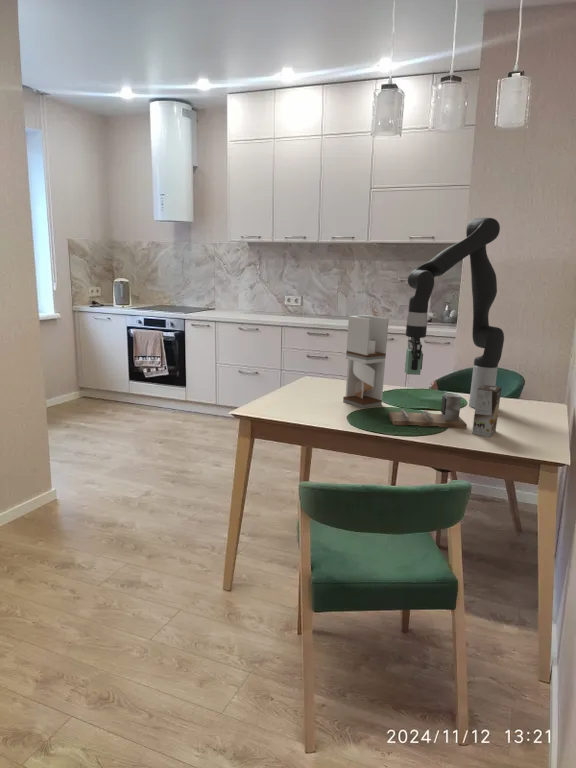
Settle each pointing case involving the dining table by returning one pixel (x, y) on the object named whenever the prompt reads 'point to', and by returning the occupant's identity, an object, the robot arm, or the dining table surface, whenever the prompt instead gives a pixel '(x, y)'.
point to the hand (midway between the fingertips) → (412, 368)
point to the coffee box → (486, 410)
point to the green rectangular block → (409, 363)
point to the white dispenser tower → (366, 360)
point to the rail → (433, 415)
